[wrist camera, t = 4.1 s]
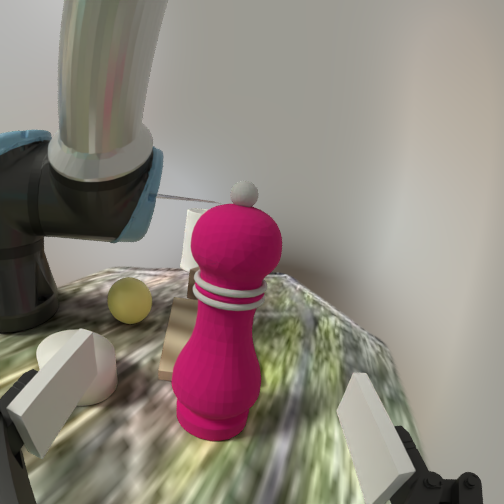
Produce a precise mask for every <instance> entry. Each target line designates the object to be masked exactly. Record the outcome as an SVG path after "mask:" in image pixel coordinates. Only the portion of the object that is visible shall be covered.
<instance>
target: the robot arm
mask: <svg viewBox="0 0 504 504" xmlns="http://www.w3.org/2000/svg"><path fill="white" fill-rule="evenodd" d="M167 3H168V0H64V6H63V14H62V22H61V31H60V43H59V60H58V114H59V130H58V131H57V132H56V133H55V134H54V136H53V137H51V133H50V132H48V131H44V130H26V131H12V132H6V133H1V134H0V332H16V331H22V330H26V329H30V328H33V327H35V326H38V325H40V324H42V323H44V322H45V321H47V320H48V319H49V318H51V317H52V316H53V315H54V314H55V312H56V311H57V309H58V305H59V302H58V291H57V286H56V283H55V281H54V278H53V276H52V273H51V270H50V267H49V264H48V262H47V258H46V255H45V253H44V236H46V237H61V238H72V239H82V240H94V241H104V242H110V243H117V242H136V241H139V240H140V239H142V238H143V237H144V236H145V234H146V233H147V230H148V228H149V225H150V222H151V219H152V215H153V212H154V207H155V202H156V196H157V192H158V189H159V185H160V180H161V174H162V168H163V152H162V151H161V150H159V149H156V148H155V147H153V139H152V135H151V133H150V131H149V129H148V128H147V127H146V126H145V125H144V124H143V123H142V118H143V110H144V105H145V99H146V93H147V87H148V82H149V77H150V71H151V67H152V62H153V57H154V53H155V48H156V44H157V40H158V36H159V31H160V27H161V24H162V20H163V16H164V13H165V9H166V6H167ZM97 374H98V372H97V364H96V357H95V348H94V338H93V332H92V331H88V330H85V329H82V328H80V329H79V330H78V331H77V332H76V333H75V334H74V335H73V336H72V337H71V338H70V339H69V340H68V341H67V342H66V343H65V344H64V345H63V346H62V347H61V348H60V349H59V351H58V352H57V353H56V354H55V355H54V356H53V357H52V358H51V359H50V360H49V361H48V362H47V363H46V364H45V365H44V366H43V367H42V369H41V370H40V371H39V372H38V371H36V370H34V369H32V370H30V371H28V372H26V373H24V374H23V375H22V376H21V377H20V378H19V379H18V381H16V382H15V383H14V385H13V387H11V388H10V389H9V390H8V391H7V392H6V393H5V394H4V395H3V396H2V398H1V399H0V504H36V501H35V498H34V495H33V491H32V488H31V485H30V481H29V478H28V474H27V470H26V466H25V462H24V457H23V453H22V451H21V447H22V446H23V444H24V445H25V447H26V449H27V450H28V452H30V453H31V454H33V455H35V456H37V457H39V458H41V459H43V457H44V456H45V454H46V453H47V451H48V449H49V448H50V446H51V444H52V443H53V441H54V440H55V438H56V436H57V435H58V433H59V432H60V430H61V428H62V427H63V425H64V424H65V422H66V421H67V419H68V418H69V416H70V415H71V413H72V411H73V410H74V408H75V407H76V405H77V404H78V402H79V401H80V399H81V398H82V396H83V395H84V393H85V392H86V390H87V389H88V387H89V386H90V385H91V383H92V382H93V380H94V379H95V377H96V376H97ZM337 414H338V417H339V420H340V423H341V426H342V429H343V433H344V436H345V439H346V442H347V445H348V448H349V451H350V454H351V458H352V461H353V464H354V467H355V470H356V474H357V477H358V480H359V483H360V487H361V490H362V493H363V497H364V500H365V503H366V504H385V503H386V502H387V501H388V500H389V499H390V502H391V504H483V497H482V485H481V480H480V479H479V477H478V476H477V475H475V474H474V473H471V472H465V473H464V474H462V475H461V476H460V477H459V478H458V479H457V480H452V479H451V480H450V479H446V480H445V479H442V477H441V476H440V475H439V474H436V473H435V472H430V471H428V469H427V467H426V465H425V463H424V461H423V459H422V457H421V455H420V453H419V451H418V449H416V446H415V444H414V442H413V440H412V438H411V436H410V434H409V432H407V431H406V430H405V429H404V428H403V427H402V426H394V425H393V423H392V421H391V419H390V418H389V416H388V414H387V412H386V410H385V408H384V406H383V404H382V402H381V400H380V398H379V396H378V394H377V392H376V390H375V389H374V387H373V385H372V383H371V381H370V379H369V377H368V375H367V373H353V374H352V377H351V379H350V381H349V384H348V386H347V388H346V391H345V393H344V395H343V398H342V400H341V402H340V404H339V406H338V409H337Z"/></svg>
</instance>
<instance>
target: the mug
mask: <svg viewBox="0 0 504 504" xmlns="http://www.w3.org/2000/svg"><path fill="white" fill-rule="evenodd" d="M206 211H208V210H207V209H188V211H187V218H186V227H185V235H184V244H183V253H182V260H181V263H180V267H181V268H182V269H183V270H185V271H187V272H190V269H192V268H195V267H198V264H197V263H196V261H195V260H194V258H193V256H192V253H191V237H192V232H193V229H194V226H195V224H196V222H197V221H198V219H199V218H200V217H201V215H203V214H204V213H205V212H206Z"/></svg>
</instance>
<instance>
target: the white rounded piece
mask: <svg viewBox="0 0 504 504" xmlns="http://www.w3.org/2000/svg"><path fill="white" fill-rule="evenodd" d="M77 331H78V330H65V331H60V332H57V333H54V334H52V335H50V336H48V337H47V338H45V339H44V340H43V341H42V342H41V343H40V345H39V346H38V348H37V360H38V364H39V368H40V370H41V369H42V367H43V366H44V365H45V364H46V363H47V362H48V361H49V360H50V359H51V358H52V357H53V356H54V355H55V354H56V353H57V352H58V351H59V349H60V348H61V347H62V346H63V345H64V344H65V343H66V342H67V341H68V340H69V339H70V338H71V337H72V336H73V335H74V334H75V333H76V332H77ZM93 338H94V348H95V357H96V364H97V372H98V374H97V376H96V377H95V379H94V380H93V382H92V383H91V385H90V386H89V387H88V389H87V390H86V392H85V393H84V395H83V396H82V398H81V399H80V401H79V402H78V404H77V405H76V406H89V405H94V404H97V403H99V402H102V401H104V400H105V399H107V398H108V397H109V396H111V394H112V393H113V392H114V391H115V389H116V387H117V382H118V379H117V369H116V358H115V349H114V347H113V345H112V344H111V342H110V341H109V340H108V339H106V338H105V337H103V336H102V335H99V334H97V333H94V332H93Z"/></svg>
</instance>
